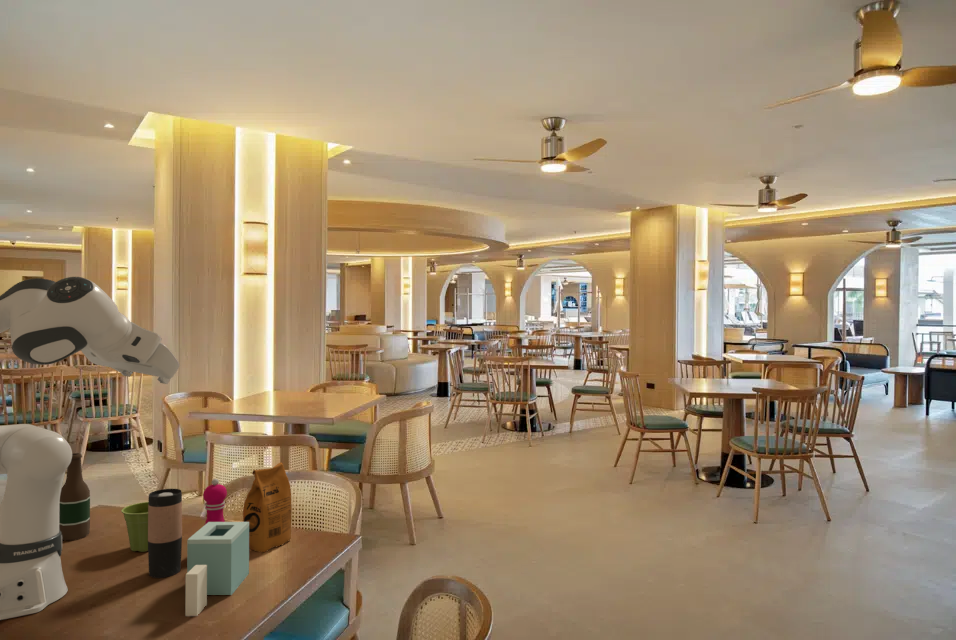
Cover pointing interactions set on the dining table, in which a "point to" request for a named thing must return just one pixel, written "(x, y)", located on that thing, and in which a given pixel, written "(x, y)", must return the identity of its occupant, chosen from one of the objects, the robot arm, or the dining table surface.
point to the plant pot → (137, 525)
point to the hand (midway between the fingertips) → (147, 377)
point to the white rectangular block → (196, 590)
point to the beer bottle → (74, 503)
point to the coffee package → (268, 509)
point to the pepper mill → (215, 501)
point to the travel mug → (164, 532)
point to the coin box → (221, 555)
